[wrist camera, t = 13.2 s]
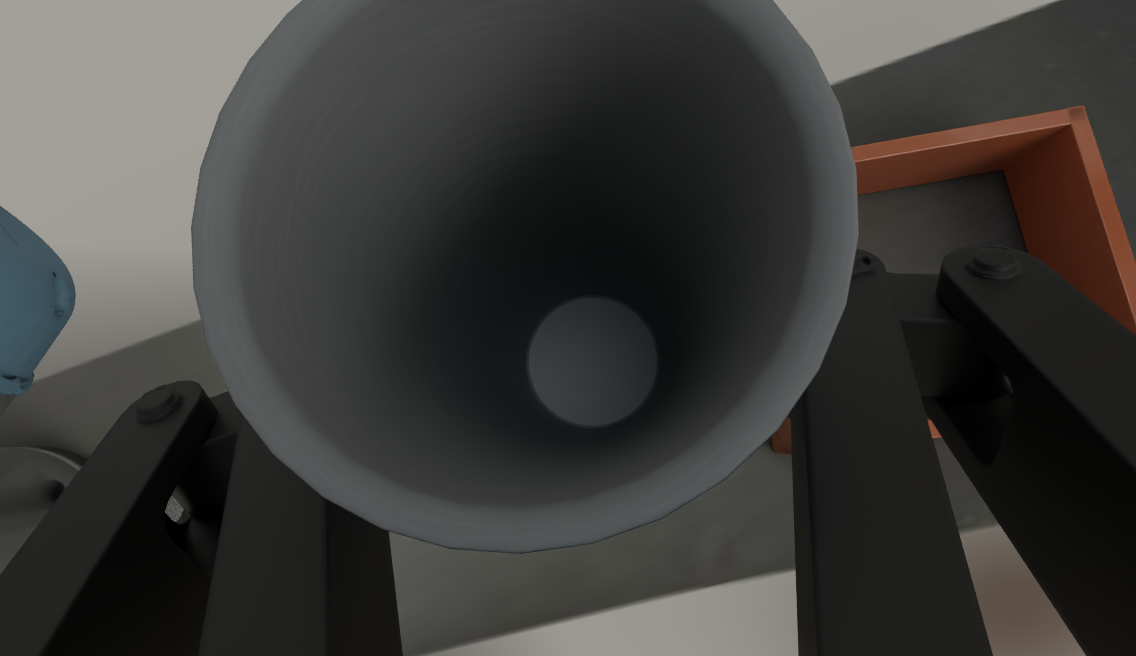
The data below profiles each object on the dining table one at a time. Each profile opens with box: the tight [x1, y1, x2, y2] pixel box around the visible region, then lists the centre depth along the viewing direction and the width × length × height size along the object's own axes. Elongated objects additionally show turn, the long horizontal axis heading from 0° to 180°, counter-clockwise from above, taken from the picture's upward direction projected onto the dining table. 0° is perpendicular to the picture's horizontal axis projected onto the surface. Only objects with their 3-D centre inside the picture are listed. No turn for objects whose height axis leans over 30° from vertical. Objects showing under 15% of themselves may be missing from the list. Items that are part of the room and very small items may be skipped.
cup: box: [191, 0, 859, 554], centre depth 13 cm, size 7×7×15 cm
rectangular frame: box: [771, 105, 1136, 455], centre depth 29 cm, size 16×14×5 cm
